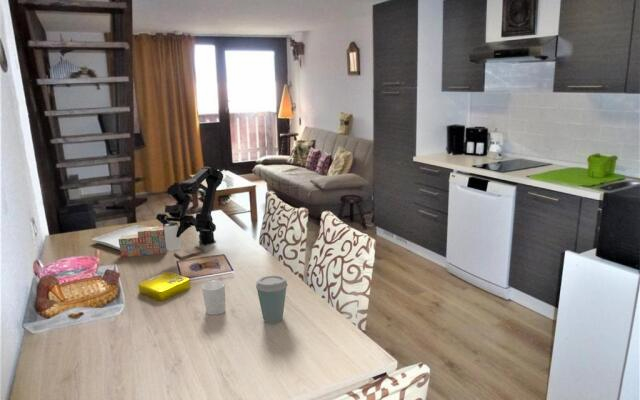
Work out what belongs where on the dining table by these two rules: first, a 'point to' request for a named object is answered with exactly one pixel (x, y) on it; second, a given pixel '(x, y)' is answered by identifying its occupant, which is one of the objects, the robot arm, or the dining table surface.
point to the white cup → (214, 297)
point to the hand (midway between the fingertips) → (170, 236)
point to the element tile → (164, 286)
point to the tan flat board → (189, 252)
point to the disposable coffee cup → (272, 297)
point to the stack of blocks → (143, 242)
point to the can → (172, 236)
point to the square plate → (117, 236)
